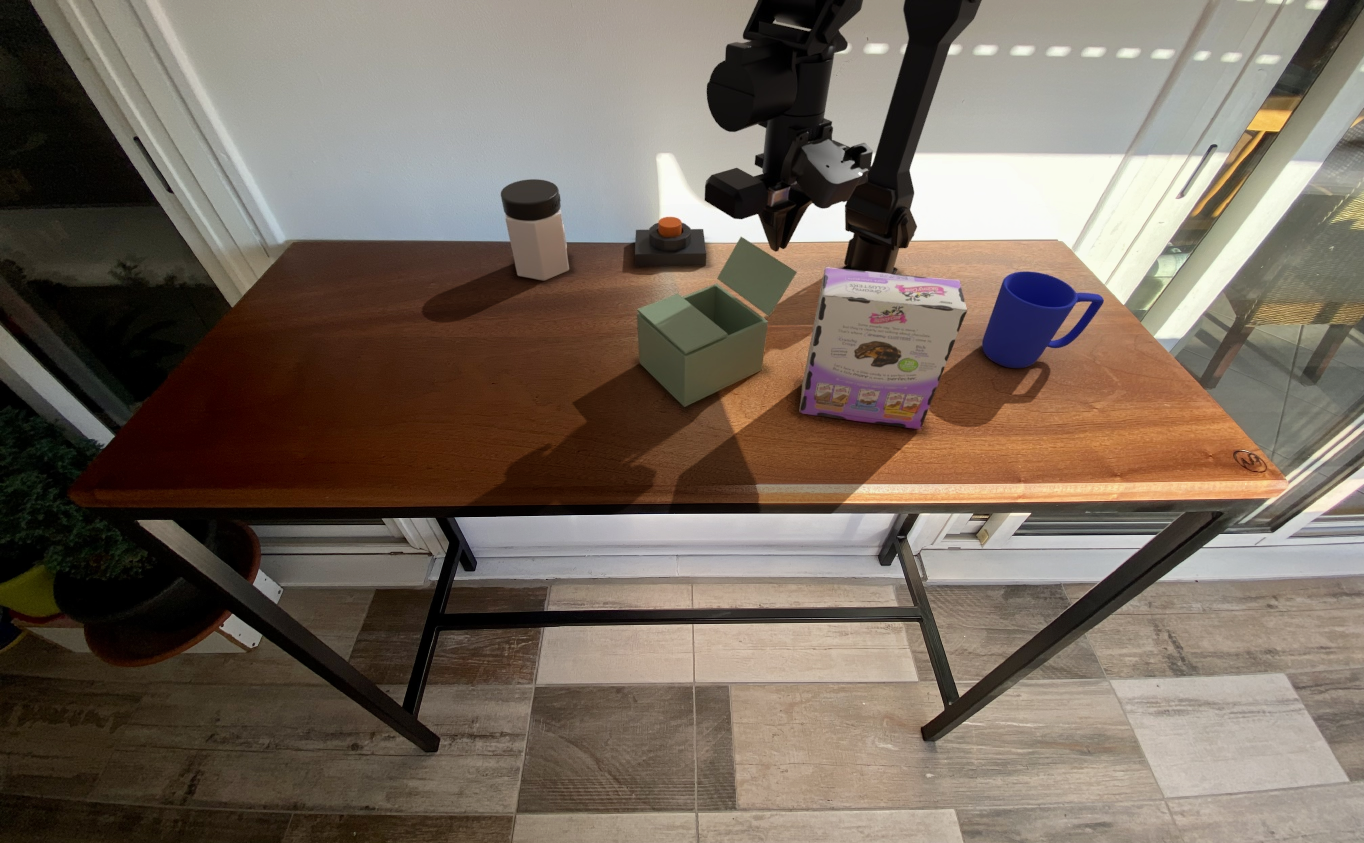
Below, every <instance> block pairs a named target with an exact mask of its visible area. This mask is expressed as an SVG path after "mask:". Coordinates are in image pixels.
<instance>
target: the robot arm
mask: <svg viewBox="0 0 1364 843" xmlns="http://www.w3.org/2000/svg"><path fill="white" fill-rule="evenodd" d="M982 1H983V0H904V1H903V6H902V7H903V8H902V12H903V18H904V22H905V26H906V31H907V32H906V33H907V36H908V39H907V43H906V47H905V51H904V54H903V57H902V61H901V64H900V67H899V72H898V75H897V77H896V78H897V79H896V82H895V86H894V89H893V91H892V96H891V99H890V101H889V106H888V108H887V112H886V116H885V120H884V123H883V126H882V129H881V133H880V136H879V140H878V143H877V147H876V151H875V154H874V153H873V152H874V151H873V149H872V148H871V147H870V146H869V145H868V144H867V143H866V142H862V143H858V144H855V145H852V146H849V145H846V144H844V143H842V142H839V141H837V140H836V139H835V140H834V139H833V132H834V126H832V125H833V120H830V119H827V118H825V115H826V108H827V102H828V96H829V89H830V85H831V84H830V83H831V78H832V72H833V65H834V59H835V54H837V53H840V52H841V53H842V52H844V51H846V50H847V49H848V46H849V43H848V40H846V38H845V36H844V35H843V34H842V33H841V32H840V30H841V29H842V28H843V26H845V25H846V24H847V23H848V22H850V21H851V20H852V19H853V18H855V16H857V15H858V14H859V12H860V11H861V10H862V8H863V2H864V0H757V1H756V4H755V6H754V8H753V10H752V12H751V15H750V17H749V19H748V21H747V23H746V25H745V28H744V30H743V32H742V39H743V40H745V41H746V42H739V41H734V42H730V43H727V44H726V46H725V52H724V54H725V55H724V56H725V57H724V60H722V61H721V62H718V64H717V65H716V66H715V67H714V68H713V70H712V72H711V73H710V77H709V80H708V82H707V84H706V101H707V104H708V105H707V106H708V109H709V111H710V114H711V116H712V118H713V120H714V121H715V123H716V124H717V125H718V126H719V127H720V128H721V129H722V130H724V131H725V132H729V133H736V132H739V131H743V130H745V129H748V128H750V127H753V126H754V127H755V126H756V125H758V126H760V127H762V128H765V135H764V143H763V152H762V153H758V154H755V156H754V166H756V167H758V168H760V169H762V170H761V171H762V173H761V174H757V175H752V174H750V173H748V172H746V171H744V170H743V169H740V168H738V167H734V168H731V169H727V170H724V171H720V172H716V173H713V174H710V176H709V177H708V178H707V179H706V180H705V185H704V202H706V203H708V204H709V205H711V206H713V207H714V208H716V209H718V210H719V211H721V212H722V213H724V214H726V215H727V216H729V217H730V218H732V219H734V220H744V219H747V218H750V217H753V216H756V215H757V216H758V218H759V221H760V223H761V227H762V230H763V231H764V234H765V237H766V240H767V243H768V246H769V249H770V250H772V251H773V252H774V253H775V252H779V251H780V249H782V250H785V249H786V248H787V246H788V245H789V243H790V241H791V240H792V237H793V235H794V233H795V232H796V230H797V227H798V226H799V224H800V222H801V220H802V218H803V216H804V215H805V213H806V212H807V210H808V208H809V207H810V206H811V205H812V204H813V205H814V206H815V207H817V208H819V209H821V210H822V209H825V210H826V209H828V208H831V207H832V206H833V205H836V204H839V203H845V204H844V225H845V226H844V227H845V229H844V230H845V232H850V233H852V234H853V236H852V238H850V239H849V240H848V244H847V247H846V248H847V249H846V252H845V257H844V262H843V263H844V265H845V266H844V267H842V269H848V270H858V271H869V272H878V273H888V274H896V273H897V271H898V268H897V267H895V265H896V261H897V257H898V254H899V251H900V249H907V248H908V247H909V245H910V242H912V239H913V238H914V236H915V233H916V231H917V229H918V225H917V222H916V220H915V218H914V215H913V213H912V211H911V208H912V204H913V201H914V196H915V189H914V184H913V178H912V175H911V167H912V164H913V161H914V158H915V154H916V151H917V148H918V145H919V143H920V139H921V135H922V133H923V130H924V128H925V124H926V121H927V118H928V115H929V113H930V110H931V106H932V104H933V100H934V97H935V94H936V91H937V87H938V85H939V82H940V79H941V76H942V72H943V69H944V65H945V64H946V61H947V57H948V54H949V51H950V48H951V46H952V43H953V42H955V40H956V39H957V38H958V37H959V36H960V35H961V34H962V33H963V32H964V31H965V30H966V28H968V26H970V25H971V23H972V22H973V21H974V20H975V18H976V16H977V14H978V10H979V9H980V7H981V3H982ZM775 22H776V23H775ZM779 23H780V24H779ZM783 24H785V25H783ZM792 26H795V27H792ZM797 27H798V28H797ZM801 28H802V29H801ZM803 28H804V29H803ZM805 29H807V30H805ZM873 154H874V158H873ZM872 160H873V161H872Z"/></svg>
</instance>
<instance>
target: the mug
mask: <svg viewBox="0 0 1364 843" xmlns="http://www.w3.org/2000/svg"><path fill="white" fill-rule="evenodd" d="M1104 301H1105V299H1104V298H1103V296H1102V295H1100V294H1098V293H1093V292H1092V293H1091V292H1076V291H1075V289H1074V288H1073V287H1072V286H1071V285H1070V284H1069V283H1067V282H1066V281H1063V280H1062V279H1060V278H1059V277H1058V278H1057V277H1056V276H1052V275H1049V274H1046V273H1042V272H1037V271H1026V270H1025V271H1016V272H1012V273H1010V274H1008V275H1006V276H1005V277H1004V278H1003V280H1002V282H1001V285H1000V288H999V290H998V294H997V297H996V299H995V302H994V306H993V308H992V312H991V315H990V317H989V320H988V323H987V326H986V328H985V331H984V335H983V337H982V345H981V346H982V347H981V348H982V351H983V353H984V355H985V356H986V357H987V358H988V359H990V360H991V361H992V362H993V363H996V364H997V365H1000V366H1003V367H1006V368H1011V369H1023V368H1028V367H1030V366H1032V365H1033V364H1035V363H1036V362H1037V361H1038V360H1039V359H1040V357H1041V356H1042V354H1043V353H1044V352H1045V351H1046V349H1047V348H1050V349H1060V348H1064V347H1066V346H1068V345H1070V344H1071V343H1073V342H1074V341H1075V340H1076V339H1077V338H1078V337H1079V336H1080V335H1081V334H1082V333H1083V332H1084V331H1085V329H1086V328H1087V327H1088V325H1090V323H1091V322H1092V320H1093V319H1094V317H1095V316H1096V315H1097V313H1098V312H1099V311H1100V309H1101V307H1102V306H1103V304H1104ZM1083 302H1084V303H1086V302H1087V303H1090V304H1089V306H1088V307H1087V309H1086V310H1085V312H1084V313H1083V315H1082V316H1081V317H1080V319H1079V320H1078V322H1077V323H1076V324H1075V325H1074V326H1073V328H1071V330H1070V331H1069V332H1067V334H1065V335H1064V336H1062V337H1060V338H1059V339H1054V340H1053V338H1054V337H1055V336H1056V334H1057V333H1058V331H1059V329H1061V326H1062V325H1063V323H1064V322H1065V321H1066V320H1067V318H1068V316H1069V315H1070V313H1071V312H1072V310H1073V309H1074V307H1075V306H1076V304H1077V303H1083Z"/></svg>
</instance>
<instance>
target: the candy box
mask: <svg viewBox="0 0 1364 843" xmlns="http://www.w3.org/2000/svg"><path fill="white" fill-rule="evenodd" d="M818 295H819V296H818V300H817V305H816V312H815V317H814V322H813V326H812V332H811V337H810V342H809V347H808V353H807V357H806V362H805V367H804V373H803V378H802V384H801V392H800V394H801V395H800V401H799V413H801V414H803V415H809V416H818V417H827V418H832V419H837V420H848V421H854V422H861V423H869V424H876V425H883V426H884V425H885V426H892V427H894V426H895V427H899V428H907V429H915V430H921V429H922V427H923V425H924V422H925V420H926V418H927V414H928V412H929V409H930V407H931V404H932V401H933V398H934V396H935V393H936V391H937V388H938V385H939V383H940V380H941V378H942V376H943V373H944V370H945V368H946V365H947V362H948V360H949V358H950V356H951V354H952V350H953V347H954V345H955V342H956V340H957V338H958V334H959V332H960V330H961V327H962V325H963V322H964V319H965V317H966V315H967V312H968V307H967V305H966V300H965V297H964V293H963V288H962V286H961V282H960V280H959V279H949V278H939V277H926V276H916V275H906V274H896V273H895V274H888V273H878V272H869V271H858V270H848V269H843V268H840V267H839V268H838V267H829V266H825V267H824V270H823V275H822V279H821V285H820V291H819V294H818Z"/></svg>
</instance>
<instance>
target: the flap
mask: <svg viewBox="0 0 1364 843" xmlns="http://www.w3.org/2000/svg"><path fill="white" fill-rule="evenodd" d="M722 267H723V268H722V269H721V271H720V272H719V274H718V276H717V280H718V281H720V283H722V284H724V285H725V286H726V287H728V288H729V289H730V290H732V291H733V292H734V293H736V294H737V295H738V296H740V297H741V298H743V299H744V300H746V301H747V302H748V303H750V305H752V306H754V307H755V308H757V309H758V310H759V311H760V312H762V313H763V314H764V315H766V316H767V317H770V316H771V315H772V313H773V312H774V310H775V309H776V307H777V305H778V304H779V303H780V301H781V299H782V297H783V296H784V294H785V293H786V291H787V289H788V288H789V286H790V284H791V283H792V281H793V279H794V278H795V276H796V275H797V272H798V271H796V270H795V269H793V268H792V267H790V266H789V265H787V264H785V263H783V261H781V260H779V259H777V258H776V257H774V256H773V255H771V254H770V253H769V252H766V251H765V250H764V249H762V248H760V247H759V246H757V245H755V244H754V243H752V242H750V241H749V240H748V239H746V238H745V237H743V236H740V237H739V239H738V241H737V242H736V244H735V246H734V248H733V249H732V251H731V253H730V254H729V257H728V258H727V260H726V262H725V263H724V266H722Z"/></svg>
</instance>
